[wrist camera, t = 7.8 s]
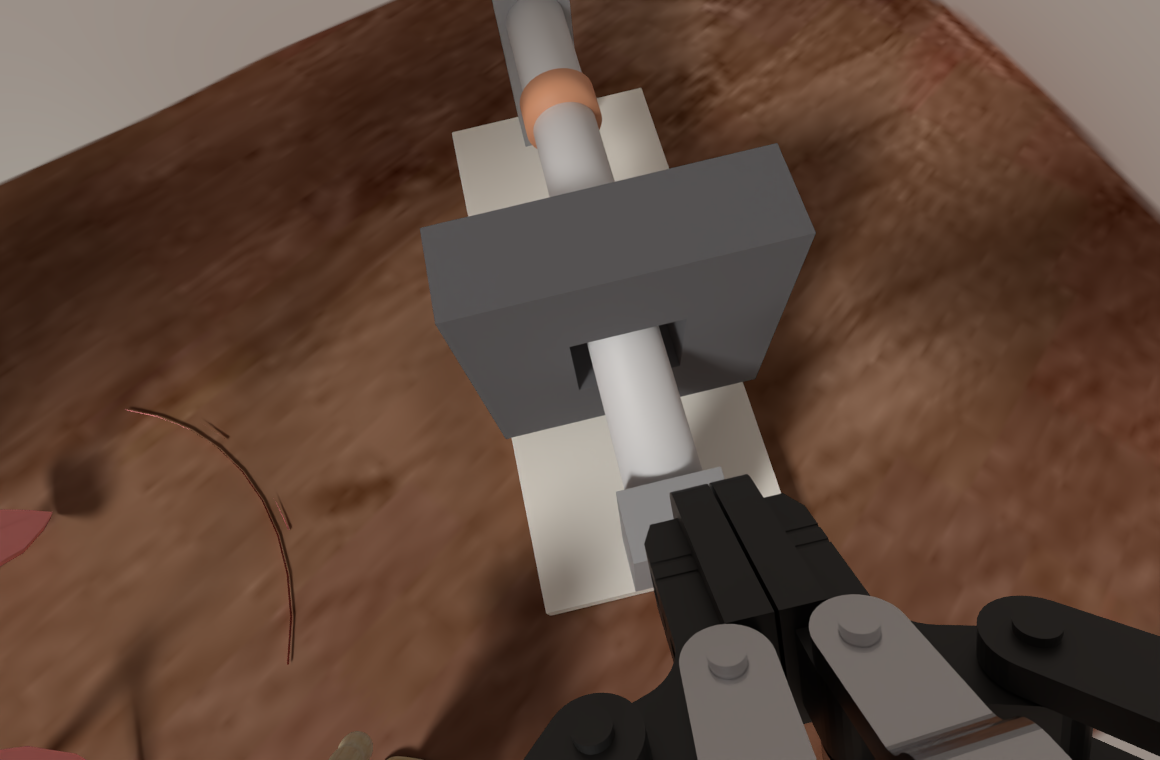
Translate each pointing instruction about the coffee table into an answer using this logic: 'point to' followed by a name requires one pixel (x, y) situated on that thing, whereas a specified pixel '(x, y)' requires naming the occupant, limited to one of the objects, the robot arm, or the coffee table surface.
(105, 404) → the coffee table surface
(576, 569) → the pipe stand
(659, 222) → the grey plate with hole
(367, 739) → the grandmother figurine
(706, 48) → the coffee table surface
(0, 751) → the flower
